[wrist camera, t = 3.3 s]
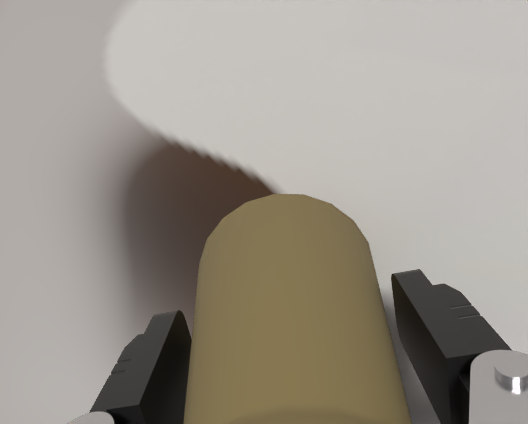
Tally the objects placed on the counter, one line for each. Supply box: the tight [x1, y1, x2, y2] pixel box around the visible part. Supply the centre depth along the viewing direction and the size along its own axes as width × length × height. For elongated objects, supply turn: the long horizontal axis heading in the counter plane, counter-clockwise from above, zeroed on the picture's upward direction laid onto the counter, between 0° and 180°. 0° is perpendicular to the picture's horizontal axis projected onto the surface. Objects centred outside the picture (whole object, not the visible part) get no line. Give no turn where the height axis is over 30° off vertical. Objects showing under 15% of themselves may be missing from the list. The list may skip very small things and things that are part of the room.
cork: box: [183, 194, 412, 424], centre depth 9 cm, size 6×6×11 cm
